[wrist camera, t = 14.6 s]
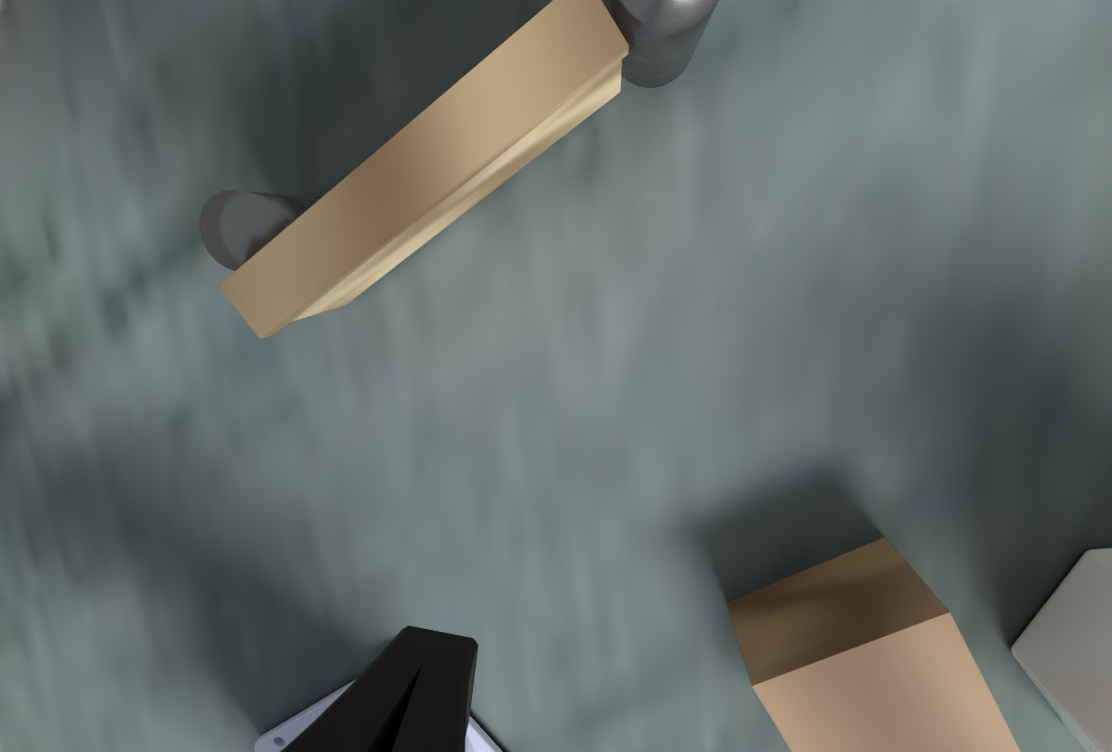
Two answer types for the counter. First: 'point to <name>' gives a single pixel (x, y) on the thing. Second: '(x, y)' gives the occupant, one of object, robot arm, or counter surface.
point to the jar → (1075, 650)
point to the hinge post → (659, 36)
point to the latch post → (246, 223)
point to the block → (865, 661)
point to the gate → (436, 166)
